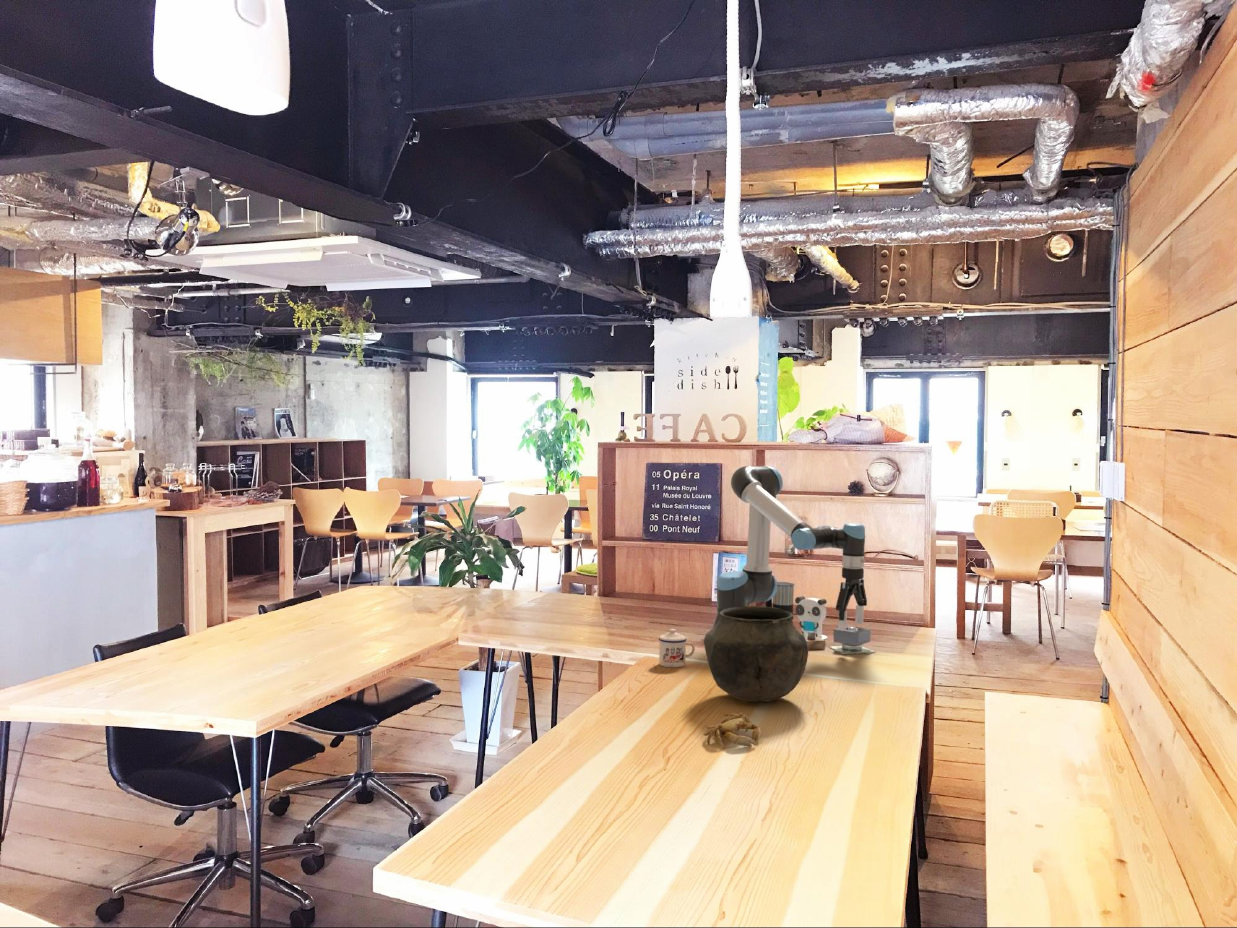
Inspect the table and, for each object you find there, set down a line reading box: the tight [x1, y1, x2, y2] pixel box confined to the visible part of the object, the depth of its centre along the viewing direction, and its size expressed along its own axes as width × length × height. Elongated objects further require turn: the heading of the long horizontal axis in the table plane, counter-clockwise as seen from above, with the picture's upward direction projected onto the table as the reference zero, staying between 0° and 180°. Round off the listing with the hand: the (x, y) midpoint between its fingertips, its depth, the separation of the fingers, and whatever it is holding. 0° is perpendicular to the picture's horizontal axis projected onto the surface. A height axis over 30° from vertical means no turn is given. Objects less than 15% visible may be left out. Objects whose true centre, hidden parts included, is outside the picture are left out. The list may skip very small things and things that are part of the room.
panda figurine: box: [794, 595, 828, 641], centre depth 342 cm, size 12×11×15 cm
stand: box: [805, 631, 826, 651], centre depth 324 cm, size 7×7×6 cm
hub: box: [828, 626, 876, 655], centre depth 320 cm, size 12×11×8 cm
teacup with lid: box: [658, 628, 696, 669], centre depth 296 cm, size 12×9×12 cm
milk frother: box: [764, 581, 795, 620], centre depth 378 cm, size 14×16×15 cm
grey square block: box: [833, 625, 871, 646], centre depth 320 cm, size 10×10×4 cm
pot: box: [703, 605, 809, 703], centre depth 255 cm, size 29×32×25 cm
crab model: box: [703, 712, 762, 750], centre depth 219 cm, size 16×13×6 cm
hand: (850, 626), depth 320 cm, fingers open, 13 cm apart
